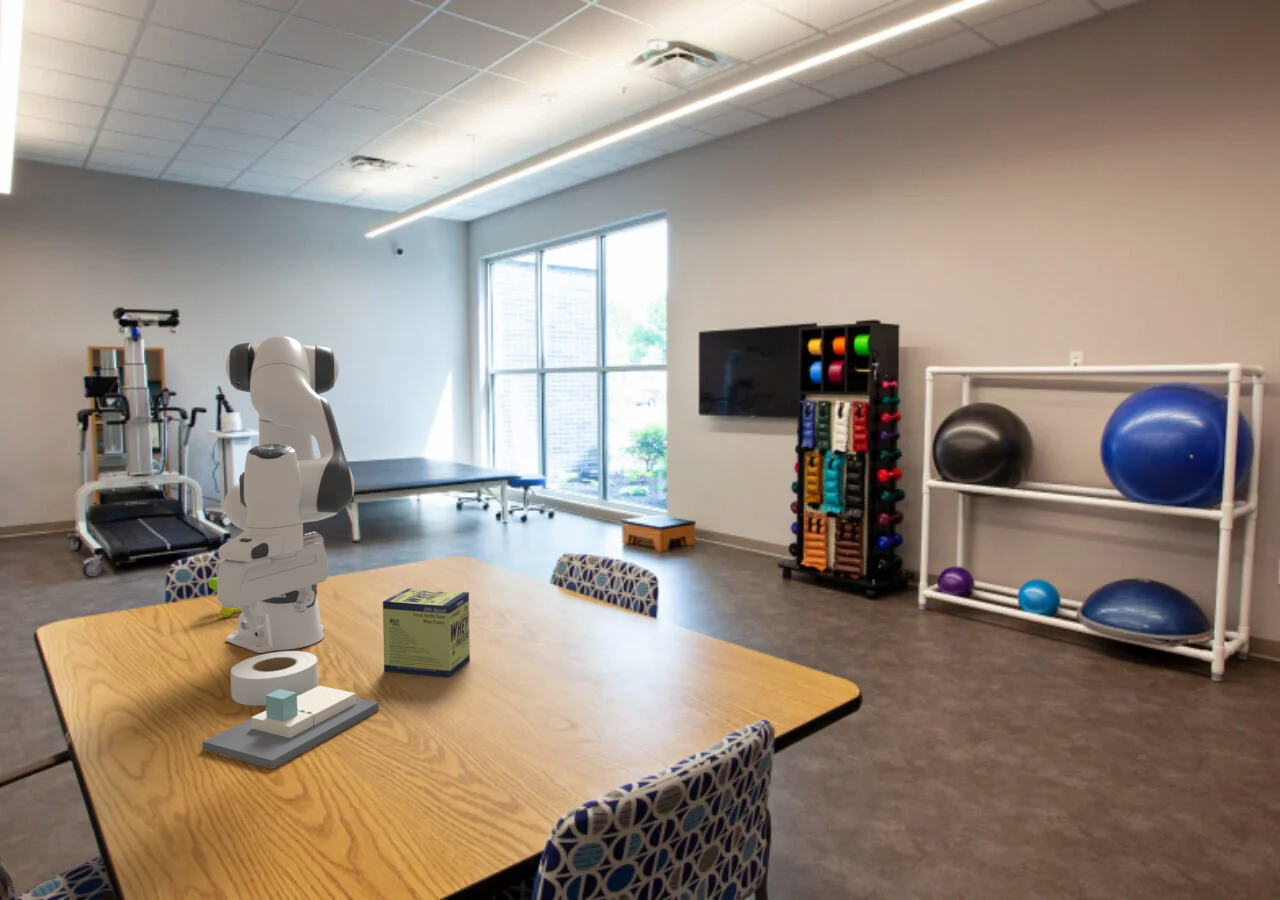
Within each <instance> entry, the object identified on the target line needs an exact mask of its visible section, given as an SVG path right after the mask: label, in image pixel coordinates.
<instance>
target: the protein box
mask: <svg viewBox="0 0 1280 900" xmlns="http://www.w3.org/2000/svg"><path fill="white" fill-rule="evenodd" d="M382 623H383V624H382V626H383V627H382V628H383V670H384V671H383V672H389V673H399V674H409V675H410V674H411V675H419V676H427V677H428V676H429V677H439V678H441V677H443V678H450V677H452V676H453V675H454V674H455V673H457V672H458V671H459V670H460V669H461V668H463V667H464V666H465V665H466V664H467V663H469V661H470V660H471V650H470V648H471V647H470V592H468V591H450V590H432V589H431V590H430V589H418V588H406V589H404V590H403V591H400V592H399V593H396V594H395V595H393V596H391V597H389V598H387V599H384V600H383V601H382Z"/></svg>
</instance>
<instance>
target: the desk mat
mask: <svg viewBox="0 0 1280 900" xmlns="http://www.w3.org/2000/svg"><path fill="white" fill-rule="evenodd" d="M379 708H380V707H379V702H377V701H372V700H368V699H364V698H359V697H356V704H354V705H353V706H351V707H349V708H347V709H345V710H343V711H341V712H339V713H337V714H335V715H334V716H332V717H330V718H328V719H326V720H324V721H322V722H320V723H318V724H317V725H315V726H314V725H313V726H312V727H310V728H308V729H307V730H305V731H303V732H301V733H299V734H297V735H295V736H293V737H291V738H288V737H284V736H280V735H276V734H272V733H268V732H264V731H260V730H256V729H252V723H251V718H250V719H248V720H245V721H243V722H241V723H238V724H237V725H235V726H233V727H230V728H228V729H227V730H224V731H222V732H220V733H218V734H216V735H215V734H214V736H211V737H209V738H207V739H205V740H203V741H202V751H204V750H206V751H205V752H208V751H209V752H208V753H211V752H213V754H215V753H217V754H216V755H219V754H221V755H220V756H222V755H225V756H224V757H226V756H228V757H227V758H230V757H231V759H233V758H235V759H234V760H237V759H238V761H240V760H241V762H244V761H245V763H249V764H251V763H252V765H256V766H259V767H262V766H263V767H264V768H266V769H270V770H274V769H276V768H278V767H280V766H282V765H283V764H285V763H287V762H289V761H291V760H292V759H294V758H296V757H297V756H298V757H299V755H301V754H303V753H305V752H307V751H308V750H311V749H313V748H314V747H316V746H317V745H319V744H321V743H323V742H325V741H326V740H328V739H330V738H331V737H333V736H335V735H337V734H339V733H341V732H342V731H344V730H346V729H348V728H350V727H352V726H353V725H355V724H357V723H359V722H361V721H363V720H364V719H366V718H367V717H369V716H371V715H373V714H375V713H377V712H378V711H379Z"/></svg>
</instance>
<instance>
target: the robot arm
mask: <svg viewBox="0 0 1280 900" xmlns="http://www.w3.org/2000/svg"><path fill="white" fill-rule="evenodd" d="M225 372H226V375H227V378H228V380H229V381H230V385H231V386H232V387H233V388H234V389H235V390H238V391H241V392H247V393H250V400H251V405H252V406H253V408H254V410H255V411H256V412H257V413H258V445H256V446H253V447H252V448H250V449H249V450H247V453H246V456H245V462H244V464H245V465H244V472H242V473H241V474H240V475H239V483H238V484H234V485H232V486H231V488H229V490H228V491H227V493H226V495H225V497H224V501H223V502H224V503H223V509H224V513H225V515H226V517H227V519H228V520H229V521H230V523H231V524H232V525H234V526H235V527H237V528H238V529H241V530H242V532H241V533H240V534H239V535H236V536H235V537H234V538H232V539H230V540H229V541H227V542H226V543H224V544H222V545H220V547H219V548H218V550H217V551H218V558H219V559H220V560H223V561H222V562H221V563H220V564H219V567H218V569H217V576H216V577H217V592H216V595H217V600H218V602H219V604H221V606H222V607H223V606H224V607H228V608H240V610H241V613H240V614H239V616H238V619H237V630H236V631H234V632H232V633H230V634H229V635H228V636H226V642H227V643H231V644H232V645H236V646H237V647H238V646H239V647H241V648H244V649H247V650H249V651H252V652H255V653H259V654H262V653H263V654H265V653H268V652H269V653H271V652H274V651H275V652H277V651H289V650H295V649H300V648H304V647H308V646H311V645H313V644H316V643H318V642H320V641H322V640H323V639H324V638H325V634H324V630H325V627H324V624H322V620H321V614H320V606H319V600H318V598H317V594H318V584H319V583H323V582H326V580H327V578H328V576H329V565H328V557H327V553H326V548H325V546H324V545H325V544H324V537H323V536H322V535H321V534H320V533H318V532H317V531H310V532H308V533H304V523H310V522H318V521H321V520H326V519H328V518H331V517H334V516H336V515H337V514H338V513H339V512H341V511H342V510H343V509H345V508H346V507H347V506H348V505H349V504H350V503H351V502H352V501H353V497H354V493H355V478H354V475H353V472H352V471H351V470H352V469H351V468H350V466H349V464H348V460H347V459H346V455H345V452H344V448H343V446H342V445H343V444H342V440H341V438H340V434H339V430H338V426H337V423H336V420H335V417H334V413H333V410H332V408H331V405H330V403H329V401H328V399H326V398H324V397H323V396H320V394H324V393H327V392H329V391H331V389H333V388H334V386H335V384H336V382H337V379H338V377H339V372H340V371H339V363H338V360H337V358H336V356H335V353H334V351H333V350H332V349H331V348H329V347H326V346H323V345H319V344H318V345H317V344H315V345H309V344H304V343H300V342H299V341H298V340H296V339H294V338H292V337H289V336H286V335H285V336H284V335H274V336H271V337H268V338H266V339H265V340H264V341H262V342H261V343H251V342H244V343H238V344H236V345H234V346H233V347H231V349H230V351H229V354H228V355H227V358H226V361H225ZM313 437H314V438H315V439H316V442H317V446H318V449H319V453H320V457H319V458H317V457H316V456H315V452H314V447H313Z"/></svg>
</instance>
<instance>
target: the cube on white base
mask: <svg viewBox="0 0 1280 900" xmlns="http://www.w3.org/2000/svg"><path fill="white" fill-rule="evenodd" d="M250 719H251V723H252V729H256V730H260V731H264V732H268V733H272V734H276V735H280V736H284V737H288V738H291V737H293V736H295V735H297V734H299V733H301V732H303V731H305V730H307V729H308V728H310V727H312V726H313V715H311V714H307V713H302V712H298V711H297V693H296V692H291V691H287V690H282V689H279V690H276V691H274V692H272V693H270V694H268V695H266V705H265V710H264V711H262V712H260V713H258V714H255V715H252V716H251V718H250Z"/></svg>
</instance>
